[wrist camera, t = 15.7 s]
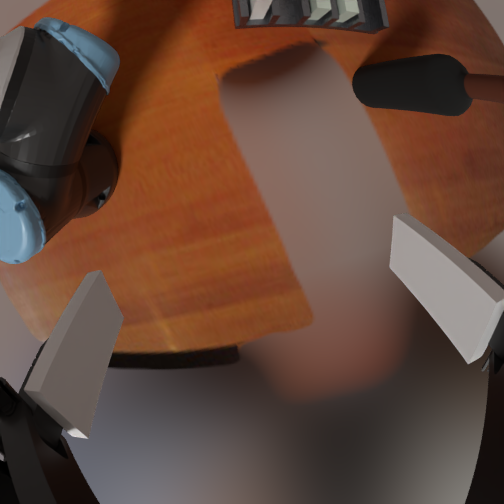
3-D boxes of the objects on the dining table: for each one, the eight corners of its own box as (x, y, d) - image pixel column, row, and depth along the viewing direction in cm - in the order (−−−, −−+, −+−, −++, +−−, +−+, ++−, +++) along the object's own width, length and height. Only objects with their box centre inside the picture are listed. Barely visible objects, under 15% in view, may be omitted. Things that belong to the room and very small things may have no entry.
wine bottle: (351, 62, 36) (498, 38, 10) (389, 69, 37) (536, 67, 10) (352, 105, 40) (503, 125, 13) (391, 109, 40) (538, 140, 14)
